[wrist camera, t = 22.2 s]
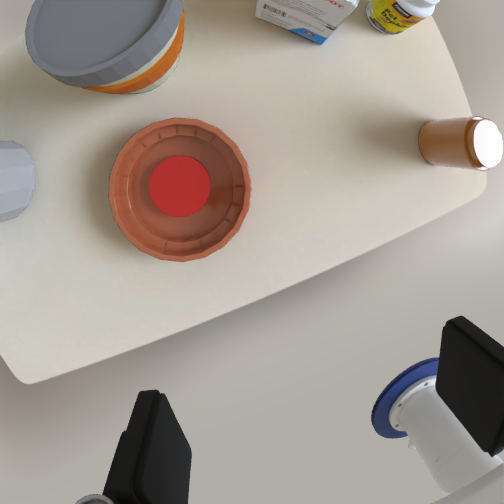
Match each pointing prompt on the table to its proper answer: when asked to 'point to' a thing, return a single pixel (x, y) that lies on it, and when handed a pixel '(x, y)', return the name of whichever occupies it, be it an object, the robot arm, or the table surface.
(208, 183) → the lid
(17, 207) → the jar
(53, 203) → the table surface
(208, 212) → the dish
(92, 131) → the table surface
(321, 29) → the ink box
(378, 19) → the supplement bottle
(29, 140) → the table surface
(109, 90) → the reusable coffee cup
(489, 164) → the jam jar
